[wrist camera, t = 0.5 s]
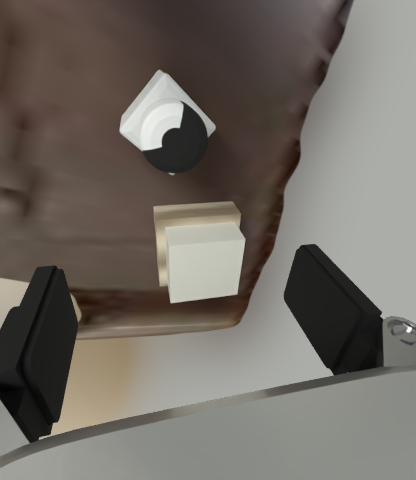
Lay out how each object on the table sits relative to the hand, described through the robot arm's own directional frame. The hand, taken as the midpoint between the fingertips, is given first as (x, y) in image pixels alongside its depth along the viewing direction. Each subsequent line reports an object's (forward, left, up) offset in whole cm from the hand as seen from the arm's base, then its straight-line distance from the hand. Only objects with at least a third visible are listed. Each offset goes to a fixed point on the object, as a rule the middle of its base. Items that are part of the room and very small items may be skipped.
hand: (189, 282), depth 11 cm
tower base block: (+17, +6, -29) cm, 34 cm away
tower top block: (+17, +6, -24) cm, 30 cm away
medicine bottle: (-1, +2, -29) cm, 29 cm away
